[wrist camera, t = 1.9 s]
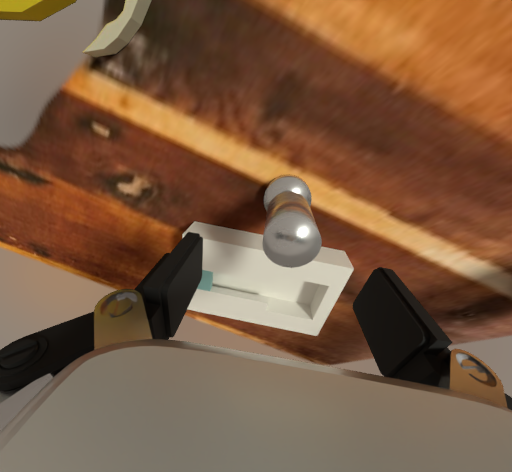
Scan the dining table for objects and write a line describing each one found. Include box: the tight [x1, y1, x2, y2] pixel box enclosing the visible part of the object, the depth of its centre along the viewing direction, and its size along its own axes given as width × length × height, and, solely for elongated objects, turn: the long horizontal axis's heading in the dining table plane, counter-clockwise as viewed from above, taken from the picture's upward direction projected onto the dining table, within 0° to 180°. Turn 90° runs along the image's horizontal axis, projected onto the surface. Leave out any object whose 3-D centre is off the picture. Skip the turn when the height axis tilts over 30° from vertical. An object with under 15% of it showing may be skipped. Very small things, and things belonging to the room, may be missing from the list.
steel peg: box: [262, 175, 321, 268], centre depth 18 cm, size 5×5×10 cm
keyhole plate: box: [182, 221, 354, 336], centre depth 27 cm, size 20×13×4 cm, turn 81°
